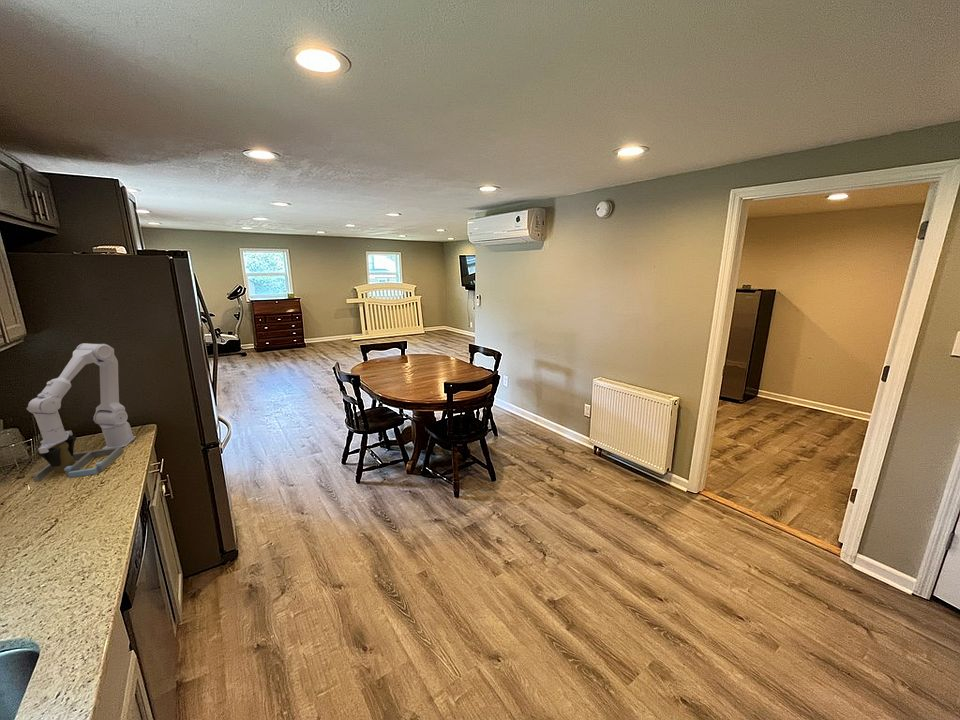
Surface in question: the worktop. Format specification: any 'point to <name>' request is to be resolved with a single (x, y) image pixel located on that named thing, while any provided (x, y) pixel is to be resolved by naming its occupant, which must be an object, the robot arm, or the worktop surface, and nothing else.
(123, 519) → the worktop surface
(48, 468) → the blue open frame
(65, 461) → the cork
